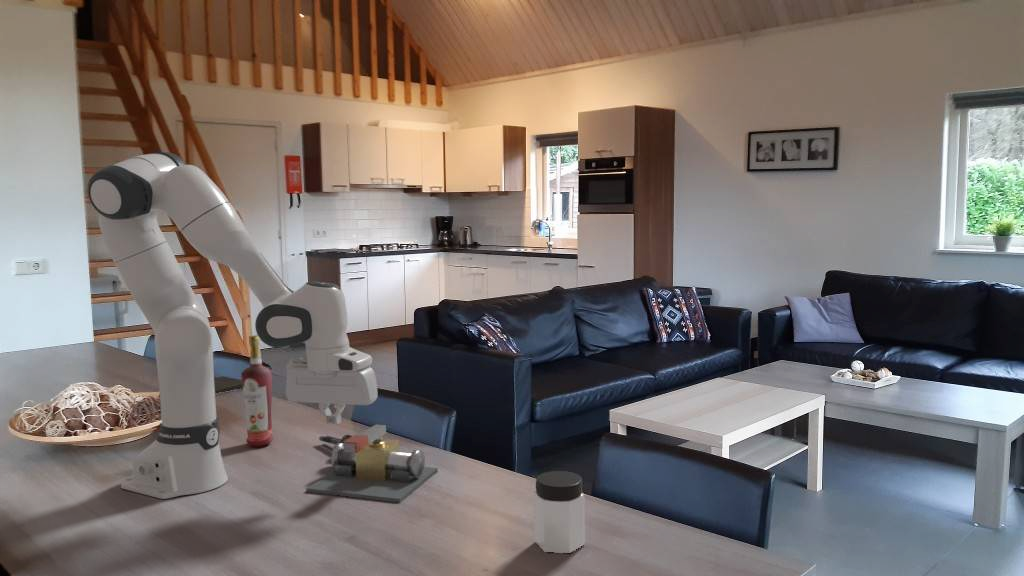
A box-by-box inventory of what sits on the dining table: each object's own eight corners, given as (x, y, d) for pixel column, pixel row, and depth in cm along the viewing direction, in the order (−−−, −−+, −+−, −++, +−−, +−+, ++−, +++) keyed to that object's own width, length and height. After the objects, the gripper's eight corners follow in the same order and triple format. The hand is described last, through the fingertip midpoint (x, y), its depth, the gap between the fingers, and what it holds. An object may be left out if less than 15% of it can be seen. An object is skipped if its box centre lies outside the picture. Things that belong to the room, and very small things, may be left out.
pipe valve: (330, 475, 172) (328, 443, 171) (346, 465, 178) (344, 433, 177) (412, 484, 165) (411, 450, 165) (426, 473, 172) (425, 440, 171)
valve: (412, 465, 184) (358, 467, 174) (355, 449, 203) (303, 450, 193) (415, 438, 185) (360, 438, 175) (358, 425, 204) (306, 424, 194)
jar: (556, 529, 144) (555, 466, 142) (592, 541, 138) (592, 476, 137) (525, 546, 137) (524, 480, 135) (563, 559, 132) (562, 491, 130)
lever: (375, 437, 173) (374, 423, 173) (387, 438, 172) (386, 424, 172) (342, 457, 160) (342, 442, 160) (355, 458, 159) (355, 443, 159)
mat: (306, 491, 165) (306, 488, 164) (351, 462, 182) (351, 459, 182) (400, 502, 158) (400, 498, 158) (437, 471, 176) (437, 467, 176)
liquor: (280, 440, 201) (274, 333, 198) (266, 449, 194) (260, 339, 191) (254, 439, 202) (248, 333, 199) (239, 448, 195) (233, 338, 192)
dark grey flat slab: (161, 396, 252) (160, 389, 252) (223, 382, 270) (223, 376, 270) (189, 403, 243) (188, 396, 242) (251, 388, 261) (251, 381, 261)
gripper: (277, 360, 162) (282, 424, 163) (363, 363, 155) (368, 430, 157) (294, 354, 168) (299, 416, 169) (378, 356, 161) (383, 421, 163)
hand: (333, 423), depth 163 cm, fingers closed
